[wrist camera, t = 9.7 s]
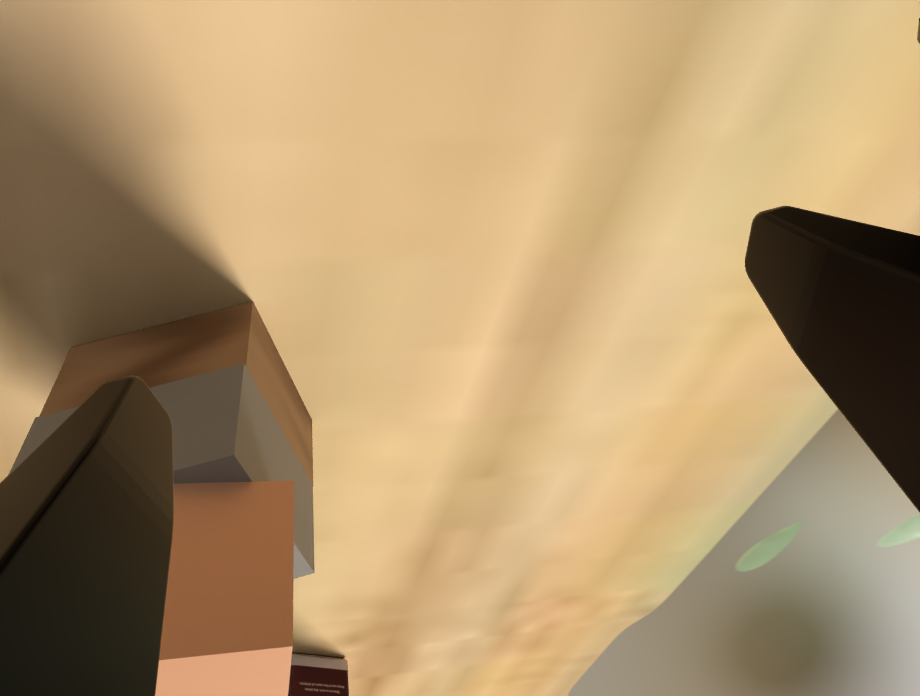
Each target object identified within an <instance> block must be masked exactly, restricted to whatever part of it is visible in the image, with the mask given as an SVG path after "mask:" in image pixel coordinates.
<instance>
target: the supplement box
mask: <svg viewBox="0 0 920 696" xmlns="http://www.w3.org/2000/svg"><path fill="white" fill-rule="evenodd" d="M288 696H349V689H348V665H347V660H345V659H340V658H333V657H325V656H316V655H306V654H294V653H293V654H292V659H291V669H290V680H289V691H288Z"/></svg>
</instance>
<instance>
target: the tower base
mask: <svg viewBox="0 0 920 696" xmlns="http://www.w3.org/2000/svg"><path fill="white" fill-rule="evenodd" d="M243 363H244V364H245V366H246V367H247V369H248V371H249V373H250V374H251V376H252V378H253V380H254V382H255V383H256V385H257V387H258V389H259V390H260V392H261V394H262V396H263V397H264V399H265V401H266V403H267V404H268V406H269V408H270V410H271V412H272V413H273V415H274V417H275V419H276V420H277V422H278V424H279V426H280V427H281V429H282V431H283V433H284V434H285V436H286V438H287V440H288V442H289V443H290V445H291V447H292V449H293V450H294V452H295V454H296V456H297V457H298V459H299V461H300V463H301V465H302V466H303V468H304V470H305V472H306V473H307V475H308V477H309V479H310V480H311V482H312V484H313V453H312V419H311V417H310V415H309V413H308V411H307V409H306V407H305V405H304V403H303V401H302V399H301V397H300V395H299V393H298V391H297V389H296V387H295V385H294V383H293V381H292V379H291V377H290V375H289V373H288V371H287V369H286V367H285V365H284V363H283V361H282V359H281V357H280V355H279V353H278V351H277V349H276V347H275V345H274V343H273V341H272V339H271V337H270V335H269V333H268V331H267V329H266V327H265V325H264V323H263V321H262V319H261V317H260V315H259V313H258V311H257V309H256V307H255V305H254V303H253V302H249V303H245V304H241V305H237V306H233V307H229V308H225V309H221V310H217V311H213V312H209V313H205V314H201V315H197V316H193V317H189V318H185V319H182V320H178V321H174V322H170V323H166V324H162V325H158V326H154V327H150V328H146V329H142V330H138V331H134V332H130V333H126V334H122V335H118V336H114V337H110V338H106V339H102V340H98V341H94V342H90V343H87V344H83V345H79V346H75V347H71V349H70V351H69V353H68V356H67V358H66V360H65V362H64V364H63V366H62V369H61V371H60V373H59V375H58V377H57V379H56V382H55V384H54V386H53V388H52V390H51V392H50V394H49V397H48V399H47V401H46V403H45V405H44V407H43V410H42V412H41V414H40V416H44V415H48V414H52V413H56V412H59V411H63V410H67V409H71V408H75V407H78V406H81V405H82V404H83V403H84V402H85V401H86V400H87V399H88V398H89V397H90V396H91V395H92V394H93V393H94V392H95V391H96V390H97V389H98V388H99V387H100V386H101V385H102V384H104V383H106V382H108V381H111V380H115V379H119V378H123V377H127V376H130V375H134V376H138V377H140V378H141V379H142V380H143V381H144V382H145V383H146V384H147V386H148V387H149V388H151V387H155V386H159V385H163V384H166V383H170V382H174V381H178V380H182V379H186V378H189V377H193V376H197V375H201V374H205V373H209V372H212V371H216V370H220V369H224V368H228V367H232V366H235V365H239V364H243ZM40 416H39V417H40Z"/></svg>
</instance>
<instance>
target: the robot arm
mask: <svg viewBox="0 0 920 696" xmlns="http://www.w3.org/2000/svg"><path fill="white" fill-rule="evenodd" d="M917 40H918V42H919V43H920V18H919V25H918V37H917ZM745 268H746V272H747V275H748V277H749V279H750V280H751V282H752V284H753V285H754V287H755V289H756V290H757V292H758V293H759V295H760V297H761V298H762V300H763V302H764V303H765V305H766V307H767V308H768V310H769V311H770V313H771V315H772V316H773V318H774V320H775V321H776V323H777V325H778V326H779V328H780V329H781V331H782V333H783V334H784V336H785V338H786V339H787V341H788V342H789V344H790V345H791V347H792V348H793V350H794V352H795V353H796V354H797V356H798V357H799V359H800V360H801V361H802V363H803V364H804V365H805V367H806V368H807V369H808V371H809V372H810V373H811V374H812V376H813V377H814V378H815V379H816V381H817V382H818V383H819V385H820V386H821V387H822V388H823V390H824V391H825V392H826V394H827V395H828V396H829V397H830V399H831V400H832V401H833V402H834V404H835V405H836V406H837V408H838V409H839V410H840V411H841V413H842V414H843V415H844V416H845V418H846V419H847V420H848V422H849V423H850V424H851V425H852V427H853V428H854V429H855V431H856V432H857V433H858V434H859V436H860V437H861V438H862V439H863V441H864V442H865V443H866V445H867V446H868V447H869V448H870V450H871V451H872V452H873V453H874V455H875V456H876V457H877V459H878V460H879V461H880V462H881V464H882V465H883V466H884V468H885V469H886V470H887V471H888V473H889V474H890V475H891V476H892V478H893V479H894V480H895V482H896V483H897V484H898V485H899V487H900V488H901V489H902V491H903V492H904V493H905V494H906V496H907V497H908V498H909V499H910V501H911V502H912V503H913V505H914V506H915V507H916V508H917V510H918V511H919V512H920V236H917V235H913V234H909V233H904V232H900V231H896V230H891V229H887V228H882V227H878V226H874V225H869V224H865V223H861V222H856V221H852V220H847V219H843V218H839V217H834V216H830V215H826V214H821V213H817V212H813V211H808V210H804V209H799V208H795V207H791V206H781V207H777V208H773V209H769V210H766V211H762V212H760V213H758V214H757V215H756V216H755V218H754V219H753V222H752V226H751V231H750V236H749V241H748V247H747V252H746V257H745ZM173 525H174V482H173V428H172V422H171V419H170V417H169V415H168V413H167V411H166V410H165V409H164V407H163V406H162V405H161V403H160V402H159V401H158V399H157V398H156V397H155V395H154V394H153V392H152V391H151V390H150V388H149V387H148V386H147V384H146V383H145V382H144V381H143V380H142V379H141V378H140V377H138V376H134V375H130V376H127V377H123V378H119V379H115V380H111V381H108V382H106V383H104V384H102V385H101V386H100V387H99V388H98V389H97V390H96V391H95V392H94V393H93V394H92V395H91V396H90V397H89V398H88V399H87V400H86V401H85V402H84V403H83V404H82V405H81V406H80V407H78V408H77V409H76V410H75V411H74V412H73V413H72V414H71V415H70V416H69V417H68V418H67V419H66V420H65V421H64V422H63V423H62V424H61V425H60V426H59V427H58V428H57V429H56V430H55V431H54V432H53V433H52V434H51V435H50V436H48V437H47V438H46V439H45V440H44V441H43V442H42V443H41V444H40V445H39V446H38V447H37V448H36V449H35V450H34V451H33V452H32V453H31V454H30V455H29V456H28V457H27V458H26V459H25V460H24V461H23V462H22V463H21V464H20V465H18V466H17V467H16V468H15V469H14V470H13V471H12V472H11V473H10V474H9V475H8V476H7V477H6V478H5V479H4V480H3V481H2V482H1V483H0V696H155V693H156V684H157V675H158V666H159V657H160V648H161V638H162V629H163V620H164V611H165V602H166V593H167V584H168V574H169V565H170V556H171V547H172V537H173Z"/></svg>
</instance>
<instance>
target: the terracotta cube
mask: <svg viewBox="0 0 920 696" xmlns="http://www.w3.org/2000/svg"><path fill="white" fill-rule="evenodd" d="M293 562H294V481H259V482H221V483H182V484H174V525H173V537H172V547H171V556H170V565H169V574H168V584H167V593H166V602H165V611H164V620H163V629H162V638H161V648H160V657H159V666H158V675H157V684H156V693H155V696H288V691H289V680H290V669H291V659H292V648H293Z"/></svg>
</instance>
